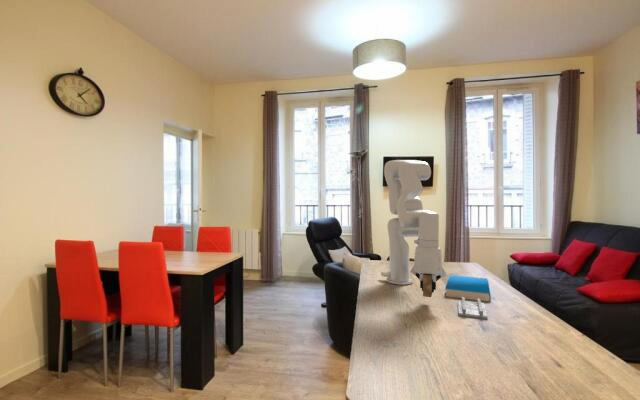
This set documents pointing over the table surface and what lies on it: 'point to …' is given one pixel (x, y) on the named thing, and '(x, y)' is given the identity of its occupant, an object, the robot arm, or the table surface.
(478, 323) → the table surface
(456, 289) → the book
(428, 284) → the door panel
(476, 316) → the floor track
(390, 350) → the table surface
